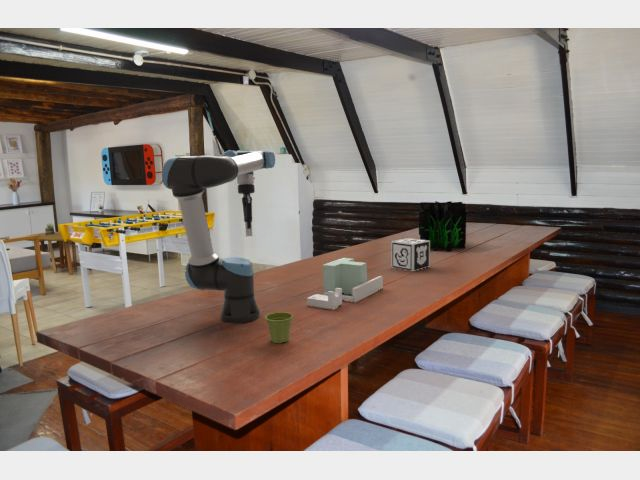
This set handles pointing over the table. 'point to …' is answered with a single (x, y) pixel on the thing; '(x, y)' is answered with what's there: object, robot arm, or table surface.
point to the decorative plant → (443, 225)
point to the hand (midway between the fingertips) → (249, 236)
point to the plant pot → (279, 326)
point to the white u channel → (364, 290)
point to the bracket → (326, 300)
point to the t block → (343, 275)
